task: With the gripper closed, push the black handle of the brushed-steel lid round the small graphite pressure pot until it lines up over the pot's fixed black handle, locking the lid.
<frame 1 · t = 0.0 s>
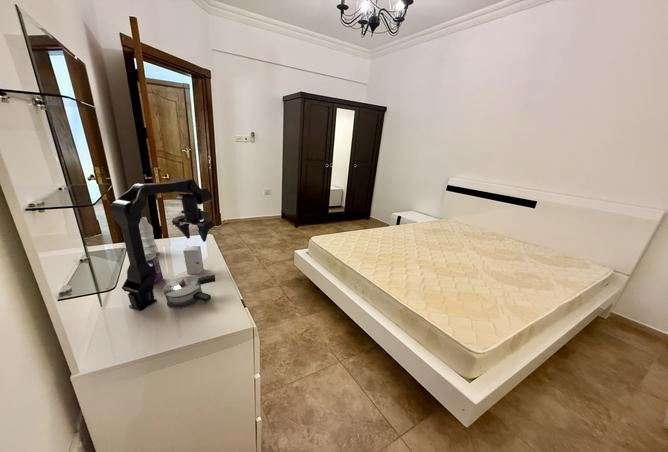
hand: (196, 240, 116), 15 cm above the table, fingers open, 9 cm apart
lid: (190, 283, 98), point 6 cm above the table, hinge at 45.0°
beverage can: (153, 282, 110), on the table
plastic bottle: (151, 254, 131), on the table
pot: (185, 298, 100), on the table
skincare box 2: (196, 271, 118), on the table
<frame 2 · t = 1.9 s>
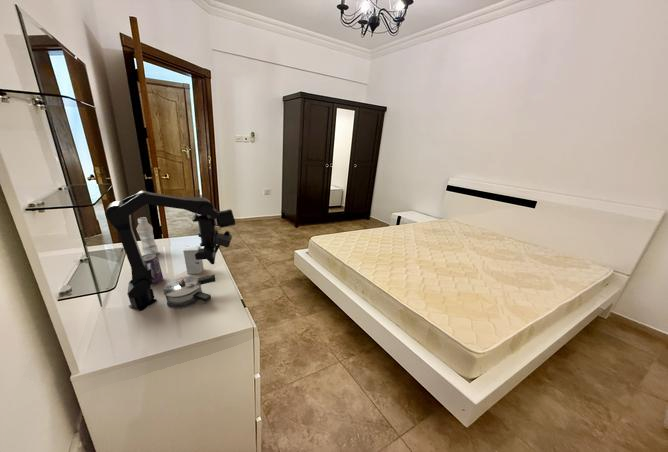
hand: (213, 263, 106), 10 cm above the table, fingers closed
nothing on the table moved.
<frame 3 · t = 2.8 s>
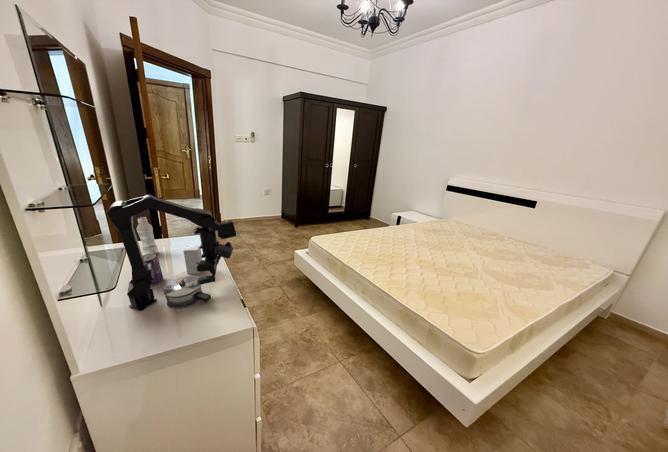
hand: (214, 274, 107), 5 cm above the table, fingers closed
nothing on the table moved.
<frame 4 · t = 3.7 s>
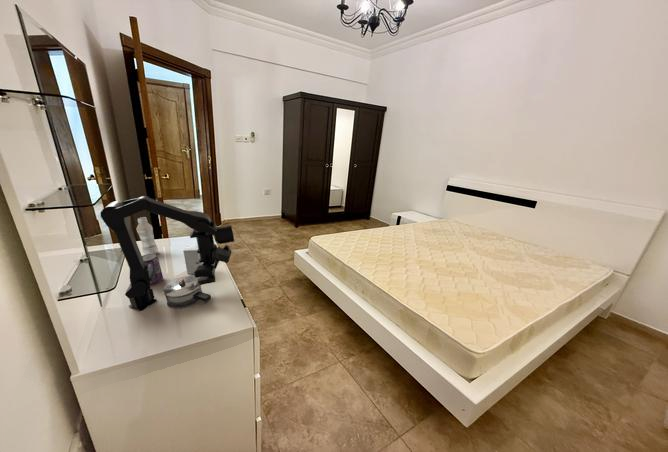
hand: (212, 278, 104), 5 cm above the table, fingers closed
lid: (190, 283, 98), point 6 cm above the table, hinge at 42.7°, touching gripper
everything else where it was.
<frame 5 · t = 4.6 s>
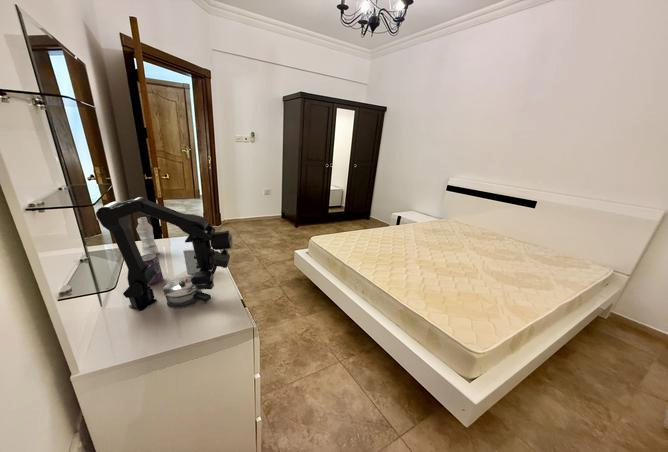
hand: (211, 284, 100), 5 cm above the table, fingers closed
lid: (189, 285, 97), point 6 cm above the table, hinge at 18.5°, touching gripper
everything else where it was.
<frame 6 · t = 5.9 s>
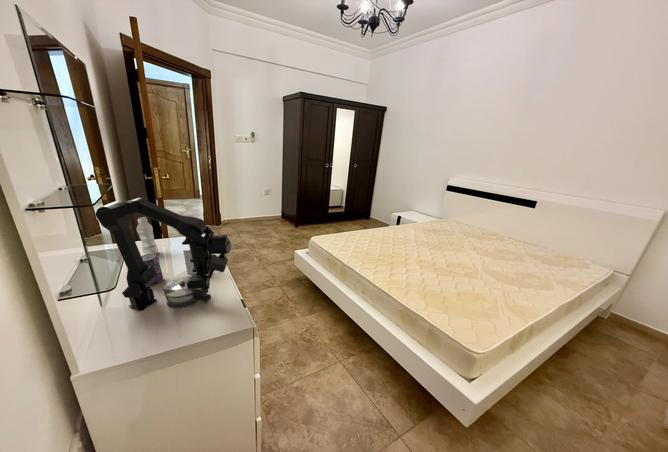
hand: (207, 288, 97), 5 cm above the table, fingers closed
lid: (187, 286, 97), point 6 cm above the table, hinge at -1.1°, touching gripper
everything else where it was.
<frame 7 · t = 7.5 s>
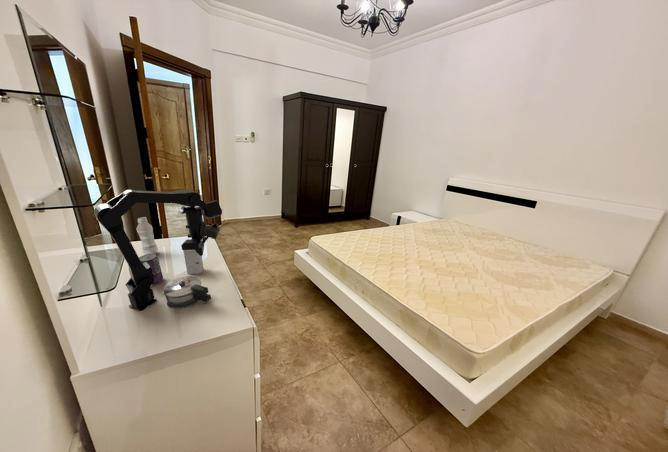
hand: (201, 255, 108), 12 cm above the table, fingers closed
lid: (187, 286, 97), point 6 cm above the table, hinge at -1.1°
everything else where it was.
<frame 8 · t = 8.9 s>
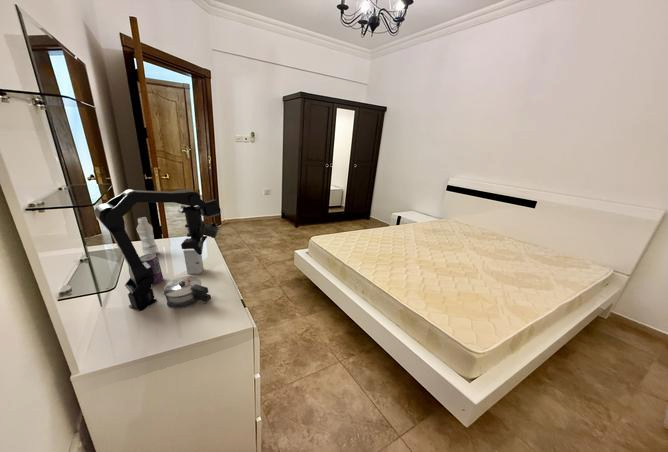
hand: (200, 254, 109), 12 cm above the table, fingers closed
nothing on the table moved.
at the end: lid at -1° (first picture: +45°) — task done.
